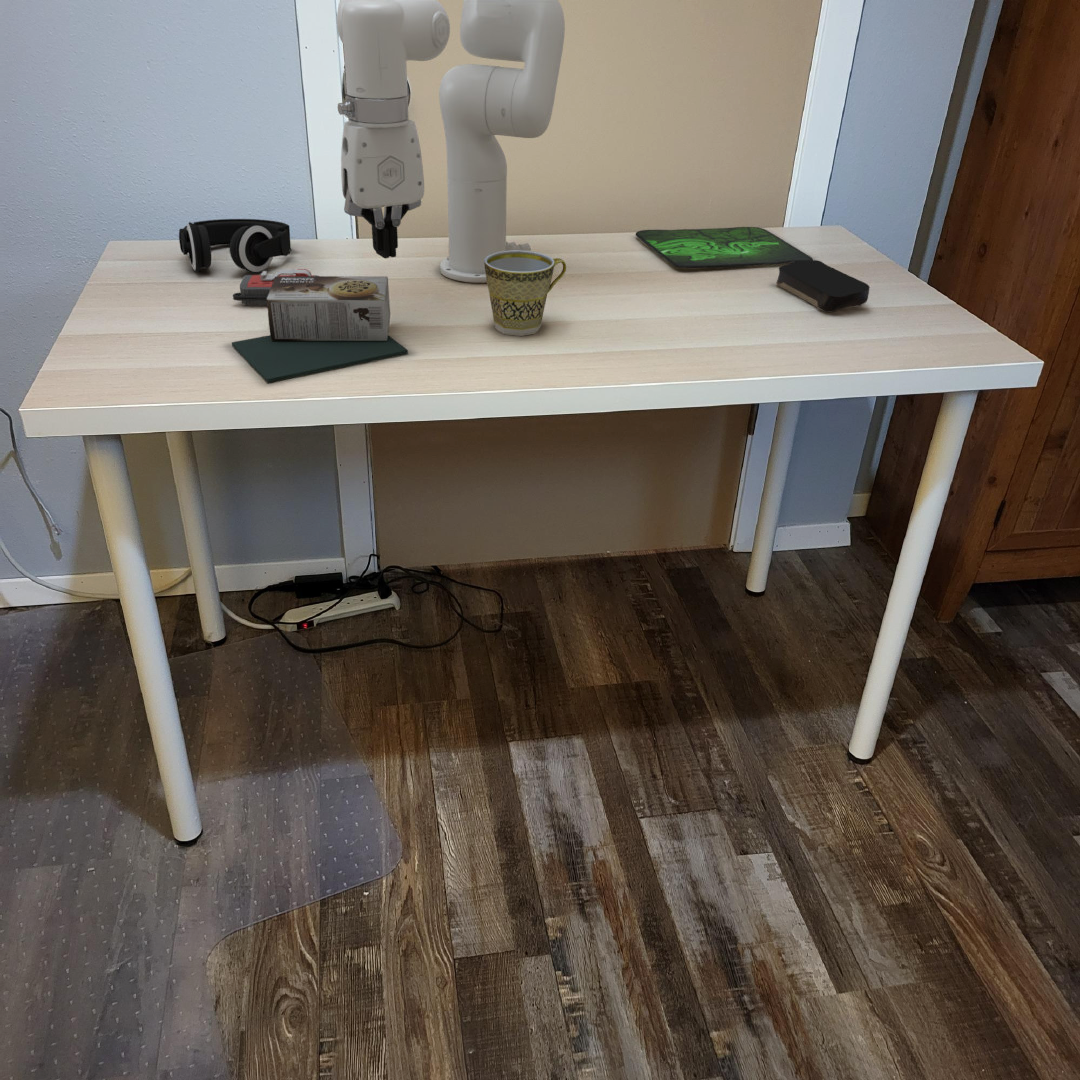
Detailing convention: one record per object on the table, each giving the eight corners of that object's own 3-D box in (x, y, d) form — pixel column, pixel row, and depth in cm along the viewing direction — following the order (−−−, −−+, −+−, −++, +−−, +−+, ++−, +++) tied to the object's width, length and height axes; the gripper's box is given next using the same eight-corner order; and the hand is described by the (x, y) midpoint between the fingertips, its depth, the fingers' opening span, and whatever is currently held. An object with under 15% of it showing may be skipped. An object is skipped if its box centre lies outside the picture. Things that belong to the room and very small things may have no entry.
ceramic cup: (506, 345, 138) (507, 276, 133) (472, 322, 145) (471, 255, 140) (581, 329, 144) (585, 262, 139) (545, 308, 151) (547, 243, 146)
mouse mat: (760, 228, 192) (761, 222, 191) (818, 262, 174) (819, 257, 174) (631, 235, 185) (631, 230, 184) (677, 272, 167) (678, 266, 167)
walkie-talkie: (230, 311, 146) (366, 312, 147) (226, 282, 143) (364, 283, 145) (241, 291, 153) (370, 292, 155) (237, 263, 151) (368, 264, 152)
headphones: (160, 225, 153) (195, 206, 171) (167, 276, 156) (200, 252, 174) (275, 228, 154) (297, 209, 172) (279, 279, 157) (301, 255, 175)
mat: (365, 321, 144) (365, 317, 144) (408, 353, 135) (407, 349, 134) (232, 346, 135) (231, 342, 135) (267, 383, 125) (267, 379, 125)
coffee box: (391, 317, 144) (279, 316, 143) (388, 275, 140) (274, 274, 139) (387, 343, 136) (270, 342, 135) (384, 299, 133) (264, 298, 132)
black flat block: (871, 311, 155) (876, 288, 153) (827, 316, 152) (832, 293, 150) (811, 279, 167) (815, 257, 165) (769, 283, 164) (772, 262, 162)
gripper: (334, 120, 117) (346, 271, 127) (444, 111, 124) (447, 255, 134) (310, 109, 122) (323, 255, 132) (417, 101, 129) (421, 240, 139)
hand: (385, 254), depth 133 cm, fingers closed
